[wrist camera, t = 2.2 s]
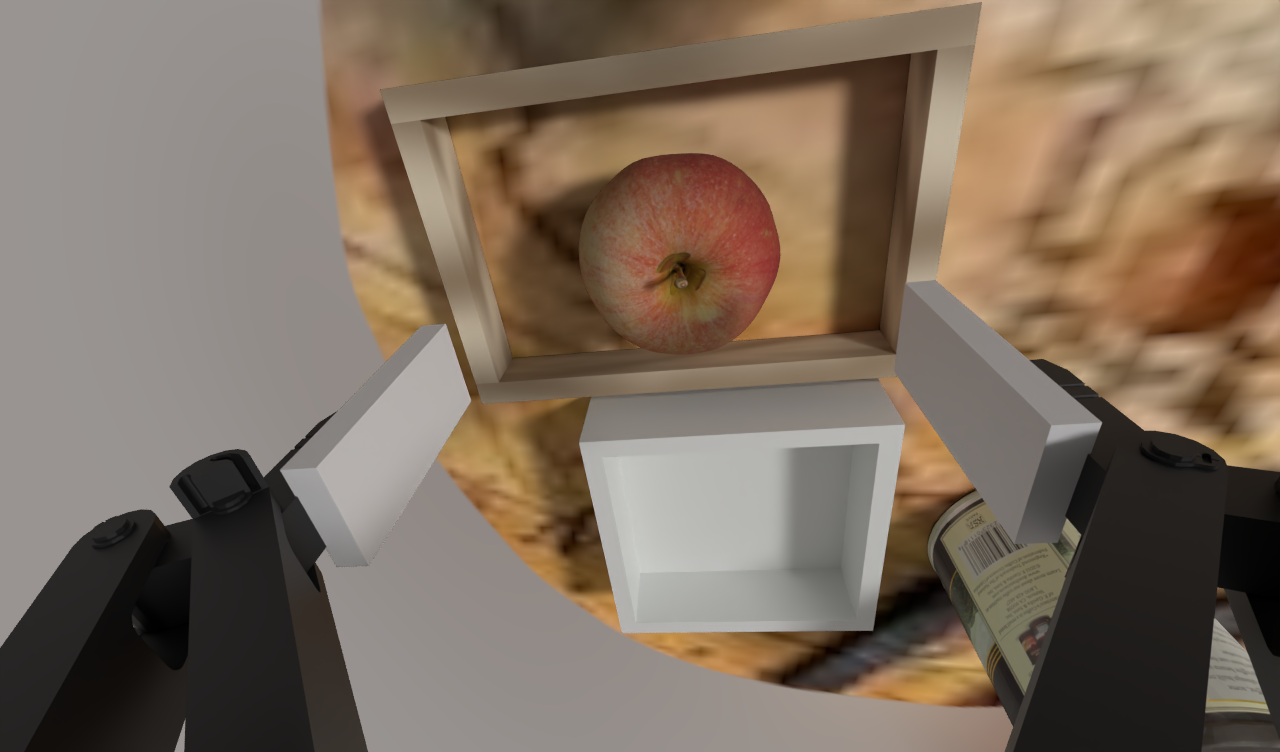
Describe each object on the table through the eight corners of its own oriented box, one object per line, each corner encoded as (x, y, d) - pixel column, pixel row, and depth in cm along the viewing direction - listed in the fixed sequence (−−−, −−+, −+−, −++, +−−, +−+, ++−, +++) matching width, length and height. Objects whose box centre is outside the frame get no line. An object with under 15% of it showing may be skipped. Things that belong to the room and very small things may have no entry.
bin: (592, 392, 30) (578, 442, 26) (874, 373, 28) (905, 424, 24) (628, 573, 37) (622, 633, 33) (852, 568, 35) (873, 630, 32)
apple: (630, 103, 22) (607, 125, 15) (799, 182, 23) (847, 236, 17) (570, 271, 26) (530, 348, 19) (716, 332, 27) (727, 425, 21)
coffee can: (1048, 602, 36) (1232, 879, 24) (899, 575, 36) (1009, 842, 24) (1150, 490, 31) (1454, 774, 19) (976, 457, 30) (1169, 725, 18)
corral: (408, 86, 23) (379, 89, 20) (949, 7, 20) (982, 2, 18) (496, 378, 30) (482, 403, 28) (901, 349, 27) (920, 374, 25)
